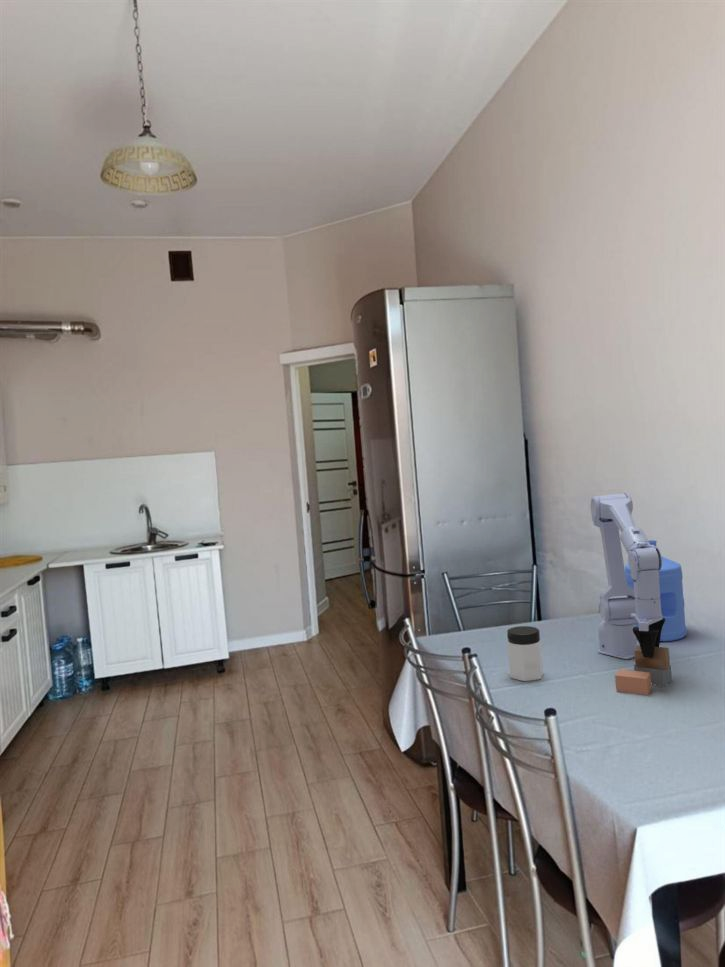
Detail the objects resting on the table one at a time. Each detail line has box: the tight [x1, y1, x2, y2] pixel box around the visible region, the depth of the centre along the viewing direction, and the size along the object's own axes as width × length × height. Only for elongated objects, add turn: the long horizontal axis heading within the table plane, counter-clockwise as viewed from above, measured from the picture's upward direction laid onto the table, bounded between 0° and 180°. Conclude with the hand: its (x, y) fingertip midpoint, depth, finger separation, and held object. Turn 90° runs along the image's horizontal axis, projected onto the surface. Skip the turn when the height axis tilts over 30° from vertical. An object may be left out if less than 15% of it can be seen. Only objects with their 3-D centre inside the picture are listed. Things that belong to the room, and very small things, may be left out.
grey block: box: [633, 664, 673, 687], centre depth 160 cm, size 7×4×4 cm, turn 41°
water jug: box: [624, 539, 687, 642], centre depth 195 cm, size 16×16×28 cm
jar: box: [506, 625, 544, 682], centre depth 171 cm, size 9×8×12 cm
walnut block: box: [634, 644, 671, 670], centre depth 160 cm, size 7×4×4 cm, turn 57°
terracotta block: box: [614, 669, 653, 696], centre depth 156 cm, size 7×4×4 cm, turn 56°
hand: (651, 652), depth 160 cm, fingers open, 7 cm apart
